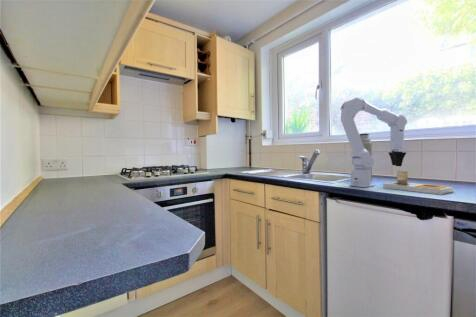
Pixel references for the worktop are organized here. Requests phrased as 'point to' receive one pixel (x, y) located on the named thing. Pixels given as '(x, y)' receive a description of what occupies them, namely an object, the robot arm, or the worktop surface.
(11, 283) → the worktop surface
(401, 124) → the robot arm
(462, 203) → the worktop surface
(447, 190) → the rail plate
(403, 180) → the peg
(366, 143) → the thermos bottle
